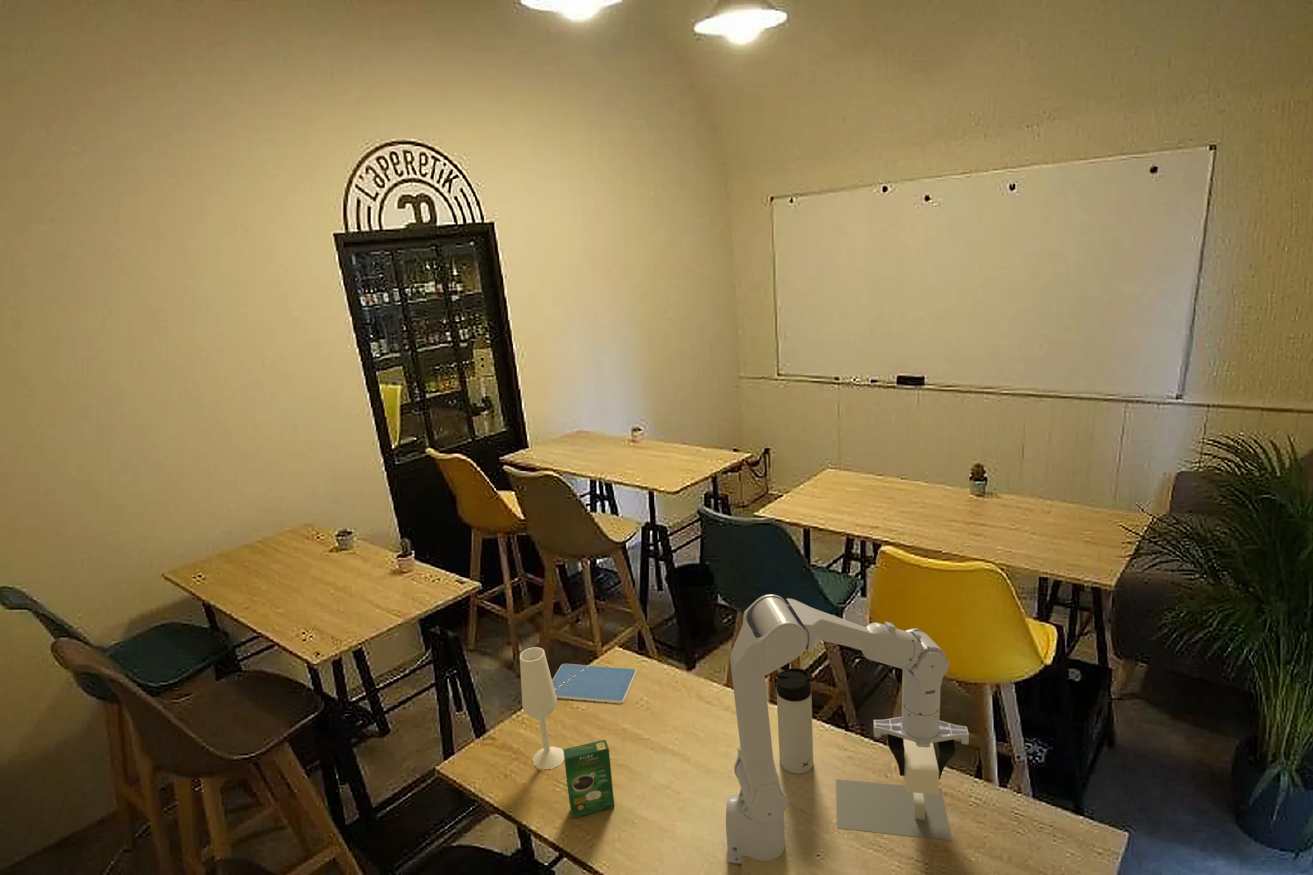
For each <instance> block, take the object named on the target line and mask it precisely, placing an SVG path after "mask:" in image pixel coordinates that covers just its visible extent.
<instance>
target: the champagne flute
mask: <svg viewBox="0 0 1313 875" xmlns="http://www.w3.org/2000/svg"><path fill="white" fill-rule="evenodd" d="M546 656H547V655H546V653H545V650H544V648H542V647H537V646H536V647H529V648H526V649H525V650H523V651H522V652H520V654H519V667H520V686H521V687H520V688H521V702H522V704H521V705H522V710H523V711H524V713H525V714H526V715H527V716H529V718H532V719H535V720H538V721H539V727H540V732H541V739H542V744H543V745H542V748H541V749H540V750H539V749H538V750H537V751H536V752H537V753H536V752H535V753H536V754H535V753H534V754H535V755H534V754H533V756H534V757H533V756H532V758H533V759H531V761H532V760H533V765H535V766H537V768H538V767H539V769H540V768H541V769H549V768H550V769H551V770H553V768H554V769H556V768H558V767H559V766H560V765H561V764H562V763H563V762H564V761H565V759H564V752H563V751H564V749H562V748H560V747H558V748H557V746H550V741H549V735H548V734H549V733H548V729H547V723H546V722H547V721H546V718H548V717H549V716H550V715H551V714H552V713H553V711H554V710H555V708H556V706H557V705H558V704H557V703H558V698H556V694H555V690H554V686H553V682H552V680H553V678H552V676H551V672H550V668H549V664H548V660H547V657H546ZM533 765H532V766H533ZM558 765H559V766H558ZM557 766H558V767H557ZM555 767H556V768H555Z"/></svg>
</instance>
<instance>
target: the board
mask: <svg viewBox="0 0 1313 875" xmlns="http://www.w3.org/2000/svg"><path fill="white" fill-rule="evenodd" d="M835 797H836V802H835V803H836V829H840V830H841V829H842V830H848V831H849V830H850V831H857V832H858V831H859V832H867V833H875V834H878V833H879V834H886V835H895V836H903V837H914V838H924V839H931V840H932V839H933V840H938V841H939V840H940V841H941V840H942V841H949V842H952V841H953V839H952V838H953V837H952V833H951V828H950V823H949V819H948V814H947V810H946V804H945V799H944V795H943V791H942V788H938V795H936V794H926V793H915V792H906V790H905V784H904V785H903V784H893V783H881V782H872V781H860V780H849V779H839V778H835Z"/></svg>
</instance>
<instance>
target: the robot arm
mask: <svg viewBox="0 0 1313 875" xmlns="http://www.w3.org/2000/svg"><path fill="white" fill-rule="evenodd" d="M785 600H786V601H787V602H786V601H785ZM735 640H736V641H735V642H734V645H733V647H732V649H731V651H730V654H729V664H730V669H731V670H730V671H731V679H732V686H733V695H734V697H733V698H734V704H735V706H734V707H735V711H736V712H735V713H736V714H735V715H736V719H737V720H736V722H737V729H738V736H739V747H737V758H736V761H735V763H734V768H733V770H734V774H735V777H736V779H737V780H738V783H739V786H740V791H739V793H738V794H729V795H728V797H727V800H726V808H725V810H726V811H725V834H726V846H727V862H728V863H730V864H731V863H732V864H739V865H742V864H743V858H744V856H745V857H748V858H751V859H753V860H756V861H760V862H761V861H762V862H769V861H773V860H775V859H778V858H779V856H781V855H782V854H783V852H784V850H785V848H786V837H785V836H786V835H785V834H786V832H785V814H784V813H785V812H786V810H787V808H788V805H789V804H788V797H787V795H786V793H785V792H784V791H783V789H782V786H781V784H780V779H779V776H778V775H779V774H778V771H777V768H776V764H775V760H774V751H773V744H772V743H773V742H772V733H771V732H772V731H771V724H770V715H769V707H768V706H769V704H768V703H769V702H768V696H767V687H766V685H767V684H766V676H768V675H770V674H771V673H773V672H775V671H776V670H779V669H780V668H782V667H784V666H786V665H788V664H790V663H791V662H793V661H794V660H796V659H797V658H800V656H801V655H802V654H803V653H804V651H805V650H806V652H807V653H810V652H812V650H814V648H815V647H816V646H817V644H818V643H819V642H820V641H822V642H828V643H832V644H837V645H841V646H845V647H850V648H854V649H859V650H861V652H862V655H863V656H864V657H865V658H866V659H868V660H870V661H873V662H876V663H881V664H883V665H884V664H885V665H888V666H891V667H894V668H899V669H901V670H902V682H901V684H902V688H901V689H902V690H901V691H902V693H901V695H902V696H901V698H902V699H901V716H898V717H892V718H886V719H873V737H874V738H882V736H887V737H886V738H887V744H888V748H889V750H890V752H891V753H892V755H893V756H894V759H895V761H896V764H897V766H898V772H899V776H901V777H903V776H904V752H905V749H904V740H903V739H906V740H910V741H913V742H916V745H917V746H918V747H926V748H928V747H930V743H933V744H934V745H935V746H934V751H935V755H936V760H937V765H938V769H939V780H941V778H942V774H943V771H944V769H945V767H946V765H947V763H948V762H949V761H950V760H951V759H952V758H953V757H954V756H955V753H956V747H955V742H956V741H957V742H960V743H961V745H970V744H969V742H970V741H969V740H970V738H969V737H970V733H969V730H968V726H963V725H958V724H954V723H950V722H946V721H943V720H940V713H941V712H940V709H941V707H940V706H941V686H942V683H943V678H944V676H945V675H946V674H947V673H948V671H949V668H950V662H949V661H948V660H947V658H948V657H947V655H946V653H945V651H944V650H943V649H942V648H941V647H940V646H939V645H938V644H937V643H936V642H935V641H934V640H933V639H932V638H931V637H930V636H929V635H928V634H927V633H926V632H924V631H922V630H921V629H920V628H917V627H916V628H910V629H907V630H902V629H899V628H897V627H896V626H895V625H894V624H893V623H892V622H889V621H884V623H883V624H882V623H881V622H876V621H875V622H871V623H869V624H867V625H866V626H865V625H860V624H858V623H855V622H852V621H849V620H847V619H844V618H841V617H839V616H837V615H833V614H830V613H827V612H826V611H825V612H824V611H822V610H819V609H816V608H814V607H812V606H809V605H807V604H805V603H803V602H800V601H799V600H796V599H793V598H786V599H784V598H782V596H780V595H777V594H771V593H769V594H764V595H762V596H760V597H759V598H757V599H756V600H755V601H754V602H753V603H751V604H750V606H748V607H747V609H745V610H744V612H743V620H742V626H741V628H740V630H739V633H738V635H737V637H736V639H735Z"/></svg>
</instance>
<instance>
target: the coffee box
mask: <svg viewBox="0 0 1313 875" xmlns="http://www.w3.org/2000/svg"><path fill="white" fill-rule="evenodd" d="M608 745H609V744H608V743H607V740H606V739H602V740H598V741H594V742H593V741H592V742H589V743H585V744H579V745H577V746H571V747H568V748H563V751H564V768H565V776H566V777H565V778H566V786H567V795H568V802H569V807H570V813H571V818H572V819H575V818H580V817H581V816H582V817H584V815H585V816H587V815H591V814H594V813H598V812H602V811H607V810H610V809H613V808H615V799H614V798H615V797H614V790H613V779H612V778H613V777H612V767H611V758H610V748H609V746H608Z"/></svg>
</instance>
